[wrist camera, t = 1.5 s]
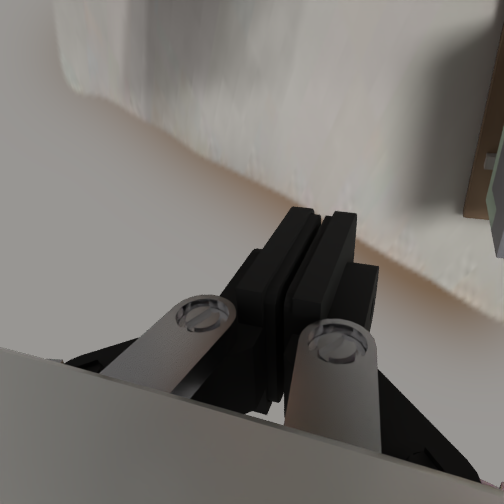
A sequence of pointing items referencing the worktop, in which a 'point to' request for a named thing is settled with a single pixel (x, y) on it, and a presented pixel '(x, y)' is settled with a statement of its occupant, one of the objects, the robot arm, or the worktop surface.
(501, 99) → the track
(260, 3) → the worktop surface
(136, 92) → the worktop surface
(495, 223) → the toy truck
